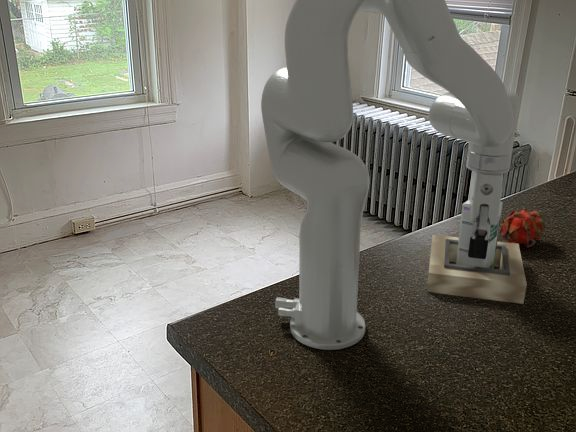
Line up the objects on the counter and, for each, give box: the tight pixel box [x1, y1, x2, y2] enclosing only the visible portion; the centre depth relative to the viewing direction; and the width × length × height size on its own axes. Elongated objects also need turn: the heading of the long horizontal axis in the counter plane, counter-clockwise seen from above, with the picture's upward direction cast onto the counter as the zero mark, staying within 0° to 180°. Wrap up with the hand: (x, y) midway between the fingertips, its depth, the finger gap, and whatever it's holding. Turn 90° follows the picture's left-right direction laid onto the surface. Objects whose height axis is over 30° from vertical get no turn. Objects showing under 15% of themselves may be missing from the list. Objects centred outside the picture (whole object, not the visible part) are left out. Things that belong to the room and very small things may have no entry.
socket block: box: [426, 234, 528, 305], centre depth 115 cm, size 17×17×5 cm
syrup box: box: [455, 199, 503, 269], centre depth 113 cm, size 6×6×14 cm
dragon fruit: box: [499, 207, 547, 249], centre depth 128 cm, size 8×8×12 cm
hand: (476, 247), depth 114 cm, fingers closed on syrup box, 7 cm apart
